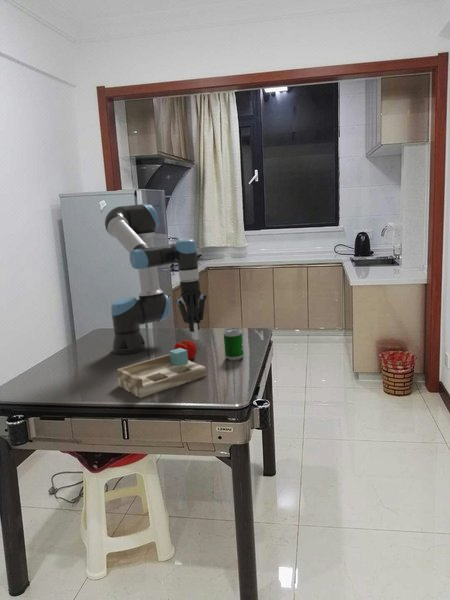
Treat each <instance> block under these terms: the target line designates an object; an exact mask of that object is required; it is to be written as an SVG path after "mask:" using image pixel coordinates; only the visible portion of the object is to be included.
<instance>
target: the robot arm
mask: <svg viewBox="0 0 450 600" xmlns="http://www.w3.org/2000/svg"><path fill="white" fill-rule="evenodd" d="M104 219H105V220H104V226H105V229H106V232H107V233H108V234H109V236H111V237H112V238H115V239H116V240H117V241H118V242H119V243H120V244H121V245H122V246H123V248H124V249H125V250H126V252H127V253H128V254H129V262H130V264H131V267H132V268H133V269H135V270H138V271H137V272H138V278H139V284H140V292H139V294H138V299H137V297H133V296H129V297H124V298H121V299H118V300H116V301H114V302H112V304H111V306H110V307H111V313H110V314H111V319H112V326H113V332H114V336H113V340H112V345H111V347H112V348H111V349H112V353H113V354H116V355H132V354H136V353H139V352H143V351H144V350H145V349H146V348H147V345H146V344H147V343H146V341H145V337H144V336H143V334H142V332H141V328H140V325H141V326H142V325H146V324H150V323H156V322H160V321H164V320H166V319H167V318H168V317H169V315H170V313H171V301H170V298H169V297H168V295H167V294H165V293H164V290H162V289H161V287H160V281H159V280H160V279H159V273H158V268H157V267H161V266H167V265H175V264H177V266H178V268H177V269H178V277H179V278H178V279H179V281H180V282H179V286H180V292H181V293H180V298H179V299H176V300H175V303H176V304H177V306H178V307H179V311H180V313H181V317H182V320H183V322H184V323H185V324H188V327H189V331H190V332H191V339H192V340H194V341H197V340H200V337H199V336H200V335H199V331H200V323H201V321H203V320H204V314H205V304H206V299H207V295H206V294H203V293H202V291H201V285H200V280H199V278H200V274H199V265H198V254H197V253H198V252H197V250H198V249H197V247H196V246H197V245H196V241H195V240H194V239H192V238H190V239H182V240H181V239H180V240H177V241H175V242H176V243H172V244H170V243H169V244H167V245H162V246H155V245H154V239H153V237H154V236H155V234H156V229H158V228H159V218H158V213H157V211H156V209H155V208H154V207H153V205H151V204H150V203H149V204H144V203H141V204H135V205H134V204H133V205H121V206H116V207H114V208H112V209H111V210H110V211H108V213H107V214H106V217H105V218H104ZM184 303H185V304H184Z"/></svg>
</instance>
